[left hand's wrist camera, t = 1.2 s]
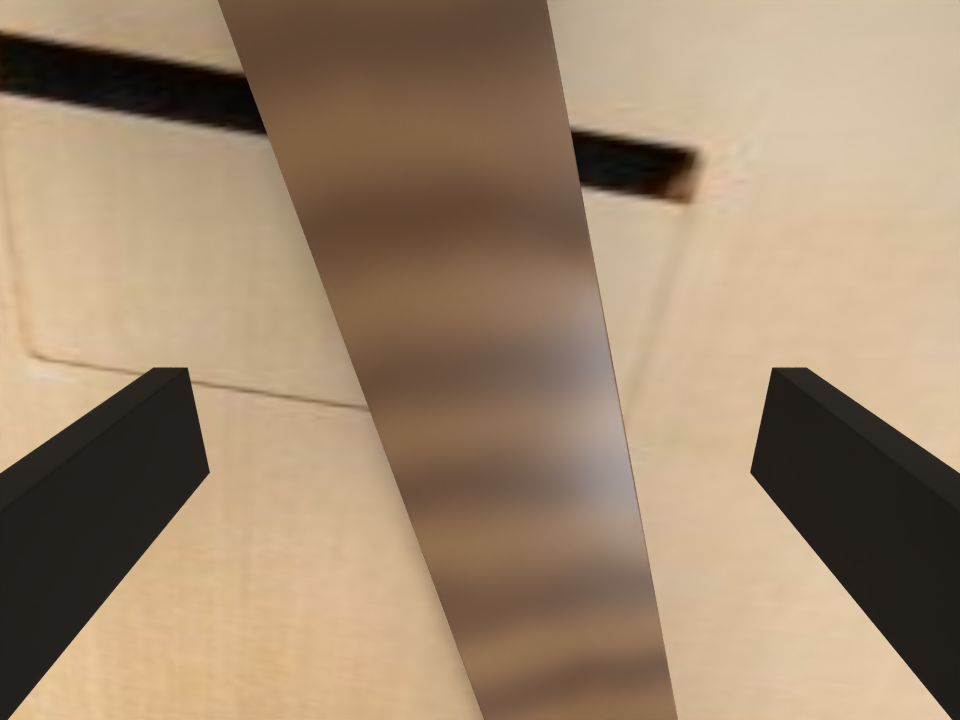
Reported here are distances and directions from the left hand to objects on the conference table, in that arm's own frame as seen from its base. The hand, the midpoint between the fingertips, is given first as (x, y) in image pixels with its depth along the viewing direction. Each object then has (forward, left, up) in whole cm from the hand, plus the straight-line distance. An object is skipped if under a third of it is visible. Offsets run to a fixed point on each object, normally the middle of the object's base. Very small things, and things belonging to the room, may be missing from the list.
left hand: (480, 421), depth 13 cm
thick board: (+13, +22, -16) cm, 30 cm away
